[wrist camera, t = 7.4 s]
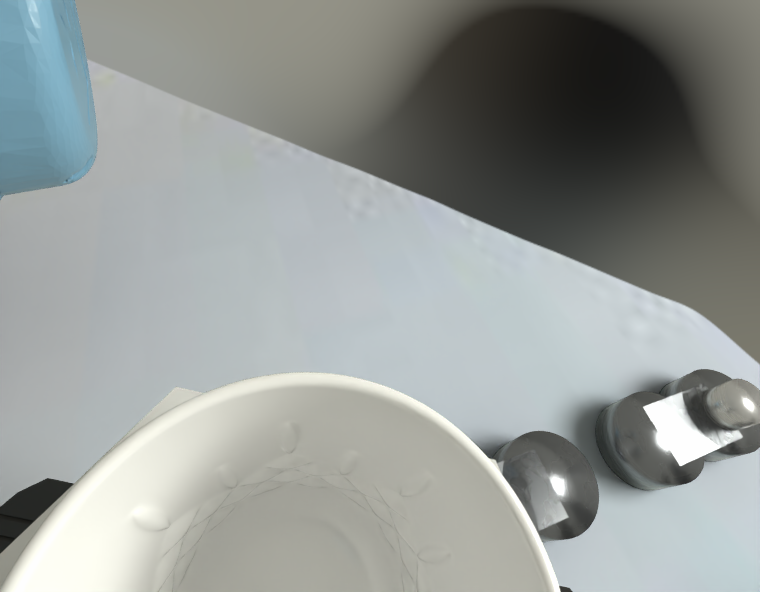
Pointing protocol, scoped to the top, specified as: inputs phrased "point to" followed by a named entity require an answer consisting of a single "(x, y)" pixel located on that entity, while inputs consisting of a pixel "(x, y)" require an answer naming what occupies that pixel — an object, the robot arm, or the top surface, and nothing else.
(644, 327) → the top surface
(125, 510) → the white cup
